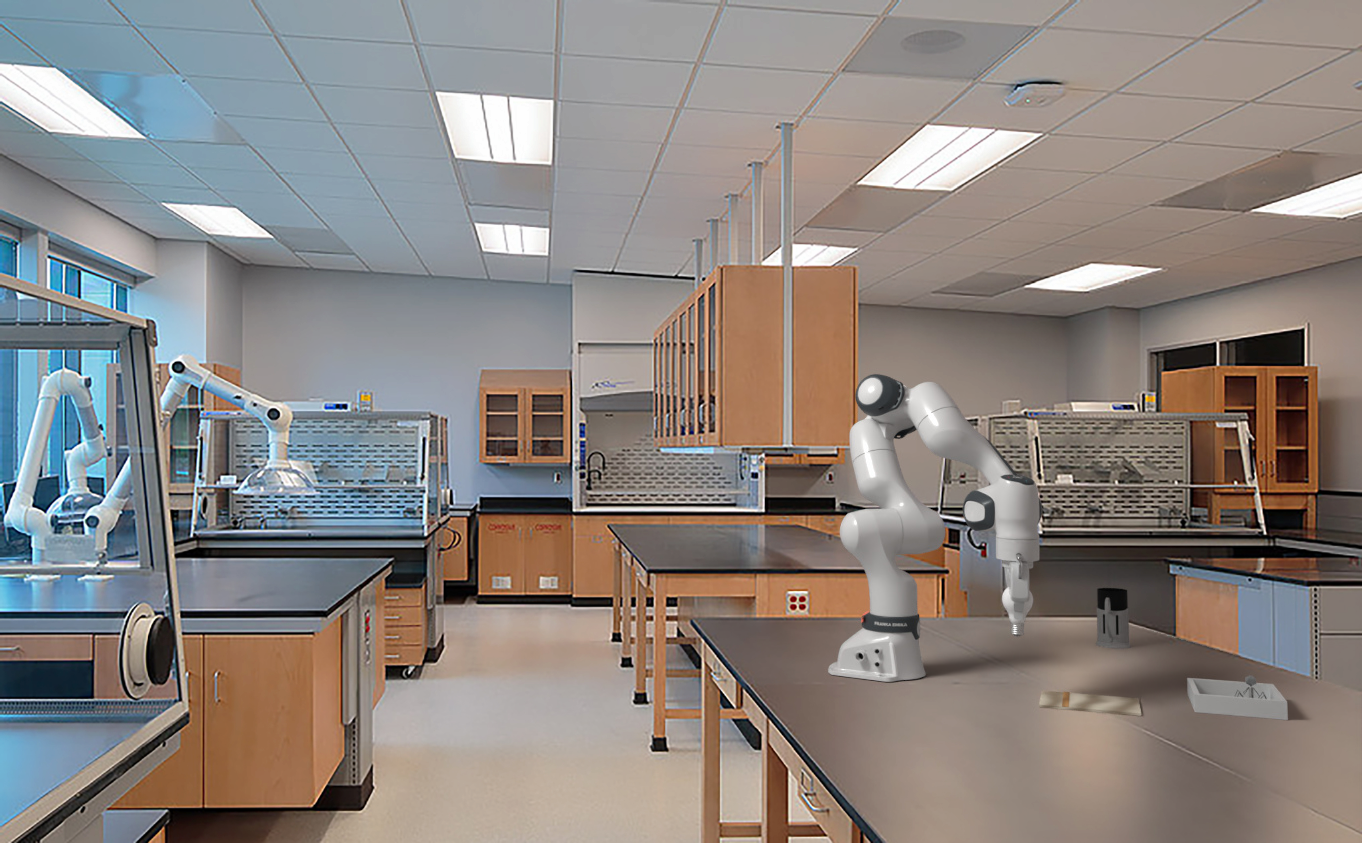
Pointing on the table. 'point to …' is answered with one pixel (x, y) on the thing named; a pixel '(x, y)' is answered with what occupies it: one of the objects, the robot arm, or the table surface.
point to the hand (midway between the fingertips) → (1017, 616)
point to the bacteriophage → (1250, 681)
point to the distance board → (1090, 703)
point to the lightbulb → (1016, 625)
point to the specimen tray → (1236, 699)
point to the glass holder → (1112, 618)
